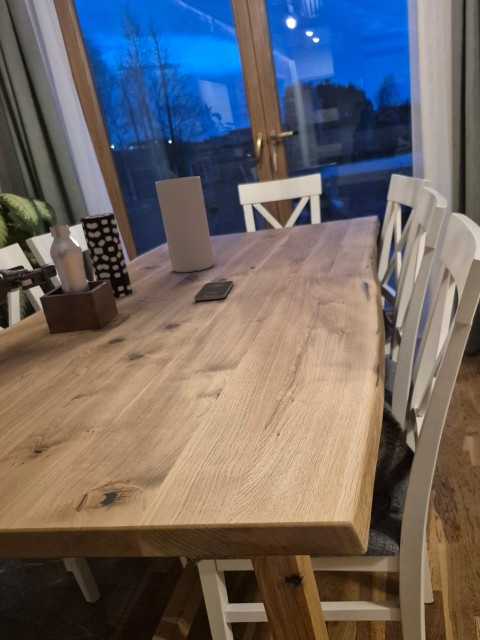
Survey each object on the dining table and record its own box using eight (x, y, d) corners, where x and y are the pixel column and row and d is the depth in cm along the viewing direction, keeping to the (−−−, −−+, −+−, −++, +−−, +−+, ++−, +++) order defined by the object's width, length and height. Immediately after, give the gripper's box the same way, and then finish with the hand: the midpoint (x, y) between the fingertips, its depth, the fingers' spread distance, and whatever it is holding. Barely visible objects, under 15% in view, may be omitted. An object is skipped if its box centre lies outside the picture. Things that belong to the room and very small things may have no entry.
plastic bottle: (63, 320, 130) (36, 228, 121) (91, 311, 134) (67, 222, 125) (75, 324, 125) (48, 229, 117) (104, 315, 129) (80, 223, 121)
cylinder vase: (202, 261, 181) (187, 176, 171) (222, 265, 172) (207, 176, 161) (166, 270, 175) (148, 182, 164) (185, 275, 165) (167, 182, 155)
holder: (50, 333, 125) (39, 297, 122) (70, 317, 136) (61, 284, 132) (101, 328, 125) (91, 292, 121) (118, 313, 135) (109, 279, 132)
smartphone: (233, 280, 149) (224, 295, 135) (234, 283, 149) (225, 298, 135) (205, 283, 149) (193, 298, 136) (206, 286, 150) (193, 301, 136)
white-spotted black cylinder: (125, 288, 158) (106, 212, 150) (137, 292, 152) (119, 213, 143) (95, 295, 154) (75, 218, 145) (107, 300, 148) (86, 219, 139)
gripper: (-8, 271, 100) (60, 250, 113) (-63, 272, 105) (7, 252, 119) (6, 312, 103) (70, 288, 116) (-49, 311, 109) (19, 288, 122)
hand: (39, 270), depth 118 cm, fingers open, 8 cm apart
